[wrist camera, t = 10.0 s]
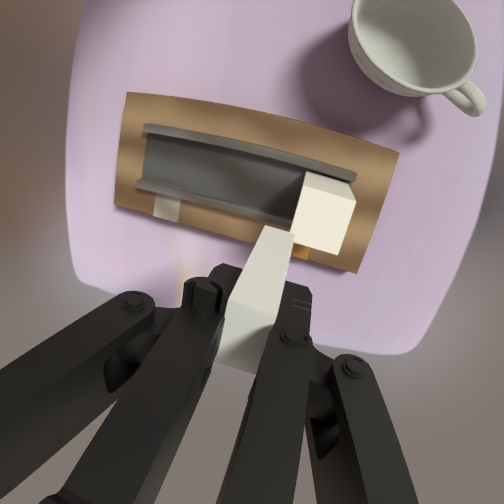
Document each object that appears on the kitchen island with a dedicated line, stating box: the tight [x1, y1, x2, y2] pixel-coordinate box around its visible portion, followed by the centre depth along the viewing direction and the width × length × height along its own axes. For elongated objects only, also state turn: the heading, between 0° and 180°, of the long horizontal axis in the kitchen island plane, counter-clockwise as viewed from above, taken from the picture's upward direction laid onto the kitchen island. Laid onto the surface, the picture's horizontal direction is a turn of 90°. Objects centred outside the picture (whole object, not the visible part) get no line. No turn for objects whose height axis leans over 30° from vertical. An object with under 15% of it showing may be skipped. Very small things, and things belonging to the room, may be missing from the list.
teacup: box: [348, 0, 486, 117], centre depth 20 cm, size 14×11×8 cm
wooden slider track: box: [114, 92, 399, 274], centre depth 30 cm, size 13×28×3 cm, turn 77°
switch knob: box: [290, 171, 356, 255], centre depth 26 cm, size 4×4×7 cm
